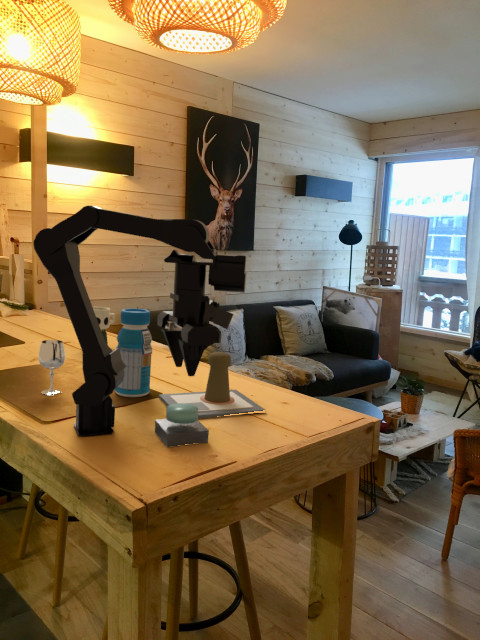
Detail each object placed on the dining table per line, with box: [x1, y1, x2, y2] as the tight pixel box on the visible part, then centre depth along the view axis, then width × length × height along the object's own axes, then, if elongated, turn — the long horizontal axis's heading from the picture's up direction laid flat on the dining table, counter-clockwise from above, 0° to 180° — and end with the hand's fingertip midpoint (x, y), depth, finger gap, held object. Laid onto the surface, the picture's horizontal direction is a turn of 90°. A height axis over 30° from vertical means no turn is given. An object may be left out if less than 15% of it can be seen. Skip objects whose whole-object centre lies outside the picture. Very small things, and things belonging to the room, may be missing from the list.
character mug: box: [92, 306, 116, 346], centre depth 174 cm, size 11×7×13 cm, turn 124°
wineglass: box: [38, 339, 66, 396], centre depth 124 cm, size 6×6×12 cm
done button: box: [165, 403, 199, 424], centre depth 103 cm, size 6×6×2 cm
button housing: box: [154, 418, 210, 448], centre depth 103 cm, size 8×8×2 cm
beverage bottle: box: [114, 308, 153, 398], centre depth 128 cm, size 8×8×20 cm
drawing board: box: [158, 389, 266, 420], centre depth 124 cm, size 20×16×1 cm
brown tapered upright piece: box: [204, 351, 232, 403], centre depth 125 cm, size 6×6×11 cm
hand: (184, 371), depth 102 cm, fingers open, 7 cm apart
